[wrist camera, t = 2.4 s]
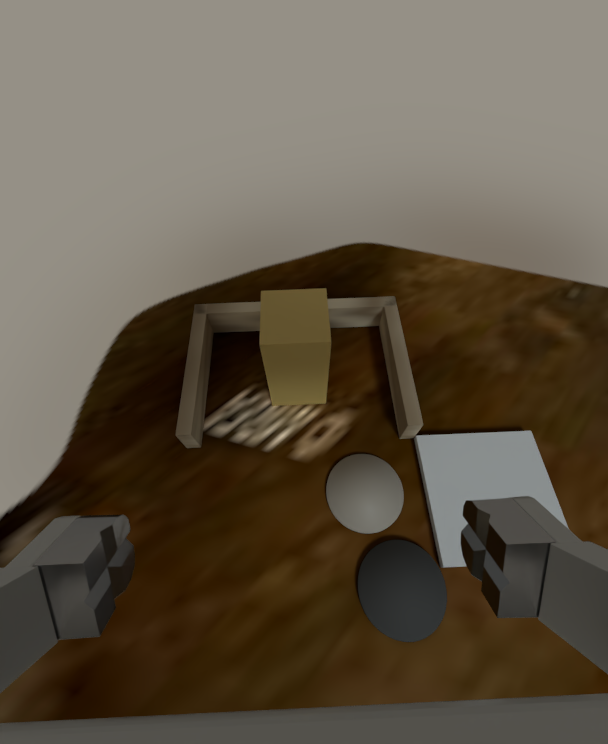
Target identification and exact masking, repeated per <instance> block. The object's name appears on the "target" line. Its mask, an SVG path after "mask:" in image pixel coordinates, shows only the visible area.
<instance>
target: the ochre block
mask: <svg viewBox="0 0 608 744" xmlns="http://www.w3.org/2000/svg"><path fill="white" fill-rule="evenodd" d="M259 345H260V350H261V354H262V359H263V364H264V368H265V373H266V378H267V382H268V387H269V392H270V397H271V401H272V406H279V405H303V404H326V397H327V385H328V374H329V363H330V352H331V332H330V322H329V311H328V301H327V291H326V288H321V289H296V290H271V291H261V308H260V344H259Z"/></svg>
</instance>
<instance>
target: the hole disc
mask: <svg viewBox="0 0 608 744" xmlns="http://www.w3.org/2000/svg"><path fill="white" fill-rule="evenodd" d="M358 594H359V599H360V602H361V605H362V608H363V610H364V612H365V614H366V615H367V617H368V619H369V620H370V621H371V622H372V624H373V625H374V626H375V627H376V628H377V629H378V630H379V631H381V632H382V633H383V634H385V635H387V636H388V637H390V638H392V639H395V640H398V641H403V642H415V641H419V640H422V639H424V638H426V637H427V636H429V635H431V634H432V633H433V632H434V631H435V630H436V629H437V627H438V626H439V624H440V623H441V621H442V619H443V616H444V613H445V609H446V603H447V593H446V586H445V581H444V578H443V576H442V573H441V571H440V569H439V567H438V566H437V564H436V562H435V561H434V560H433V558H432V557H431V556H430V555H429V554H428V553H427V552H426V551H425V550H423V549H422V548H421V547H419V546H417V545H415V544H413V543H411V542H408V541H404V540H389V541H385V542H383V543H380V544H379V545H377V546H375V547H374V548H373V549H371V550H370V551H369V553H368V554H367V555H366V556H365V558H364V560H363V562H362V564H361V567H360V570H359V574H358Z"/></svg>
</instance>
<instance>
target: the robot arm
mask: <svg viewBox="0 0 608 744" xmlns="http://www.w3.org/2000/svg"><path fill="white" fill-rule="evenodd" d="M463 517H464V518H465V520H466V521H467V523H468V524H467V525H466V526H465V527H464V529H463V530H462V531H461V549H462V555H463V558H464V561H465V563H466V566H467V568H468V569H469V571H470V573H471V574H472V575H473V576H475V577H476V578H477V579H479V580H480V581H482V588H481V591H482V593H483V595H484V596H485V598H486V600H487V601H488V603H489V605H490V606H491V608H492V610H493V611H494V613H495V615H496V616H497V618H522V617H539V618H538V620H540V621H541V622H542V623H544V624H545V625H546V626H547V627H549V628H550V629H551V630H552V631H554V632H555V633H556V634H558V635H559V636H560V637H561V638H563V639H564V640H565V641H566V642H568V643H569V644H570V645H572V646H573V647H574V648H575V649H577V650H578V651H579V652H580V653H582V654H583V655H584V656H586V657H587V658H588V659H589V660H591V661H592V662H593V663H594V664H596V665H597V666H598V667H600V668H601V669H602V670H603V671H605V672H606V673H607V674H608V550H607V549H605V548H603V547H601V546H598V545H596V544H594V543H592V542H582V541H581V540H580V539H579V538H578V537H577V536H575V535H574V534H573V533H572V532H571V531H570V530H569V529H568V528H567V527H566V526H565V525H563V524H562V523H561V522H560V521H559V520H558V519H557V518H556V517H555V516H554V515H552V514H551V513H550V512H549V511H548V510H547V509H546V508H545V507H544V506H543V505H541V504H540V503H539V502H538V501H537V500H536V499H535V498H532V497H530V496H521V497H508V498H500V499H482V500H466V502H465V504H464V506H463ZM129 532H130V525H129V521H128V518H127V517H126V516H124V515H87V516H62V517H59V518H55V519H54V520H53V521H52V522H51V523H50V524H49V525H48V526H47V527H46V528H45V529H44V530H43V531H42V532H41V533H40V534H39V535H38V536H37V537H36V538H35V539H34V540H33V541H32V542H31V543H30V544H29V545H28V546H26V547H25V548H24V549H23V550H22V551H21V552H20V553H19V554H18V555H17V556H16V557H15V558H14V559H13V560H12V561H11V562H10V563H9V564H8V565H7V566H6V567H5V568H0V693H1V692H2V691H3V690H4V689H5V688H7V687H8V686H9V685H10V684H11V683H12V682H13V681H14V680H16V679H17V678H18V677H19V676H20V675H21V674H22V673H23V672H25V671H26V670H27V669H28V668H29V667H30V666H31V665H33V664H34V663H35V662H36V661H37V660H38V659H39V658H40V657H42V656H43V655H44V654H45V653H46V652H47V651H48V650H50V649H51V648H52V647H53V646H54V645H55V644H56V643H57V642H58V640H61V639H74V638H87V637H99V636H100V635H101V633H102V632H103V630H104V628H105V626H106V624H107V623H108V621H109V619H110V617H111V615H112V614H113V612H114V610H115V608H116V606H115V601H114V599H115V598H116V597H117V596H119V595H120V594H121V593H122V592H124V591H125V590H126V588H127V586H128V584H129V582H130V581H131V578H132V574H133V570H134V567H135V552H134V546H133V545H132V544H131V543H130V542H129V541H128V540H127V539H126V537H127V535H128V533H129ZM0 744H608V693H607V694H587V695H566V696H546V697H525V698H505V699H484V700H464V701H443V702H423V703H402V704H382V705H361V706H341V707H321V708H301V709H280V710H260V711H240V712H219V713H199V714H179V715H159V716H138V717H118V718H98V719H78V720H57V721H37V722H17V723H0Z"/></svg>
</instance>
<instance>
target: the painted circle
mask: <svg viewBox="0 0 608 744" xmlns="http://www.w3.org/2000/svg"><path fill="white" fill-rule="evenodd" d="M326 496H327V501H328V504H329V507H330V509H331V511H332V513H333V515H334V516H335V517H336V519H337V520H338V521H339V522H340V523H341V524H343V525H344V526H345V527H347V528H349V529H350V530H353V531H355V532H359V533H366V534H369V533H376V532H380V531H382V530H384V529H386V528H388V527H389V526H390V525H391V524H393V522H394V521H395V520H396V519H397V517H398V516H399V514H400V512H401V509H402V506H403V498H404V495H403V488H402V484H401V481H400V479H399V477H398V475H397V474H396V472H395V471H394V469H393V468H392V467H391V466H390V465H389V464H388V463H386V462H385V461H384V460H382V459H380V458H378V457H376V456H373V455H368V454H355V455H351V456H348V457H346V458H344V459H342V460H341V461H340V462H339V463H337V464H336V465H335V467H334V468H333V469H332V471H331V473H330V475H329V477H328V481H327V486H326Z"/></svg>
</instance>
